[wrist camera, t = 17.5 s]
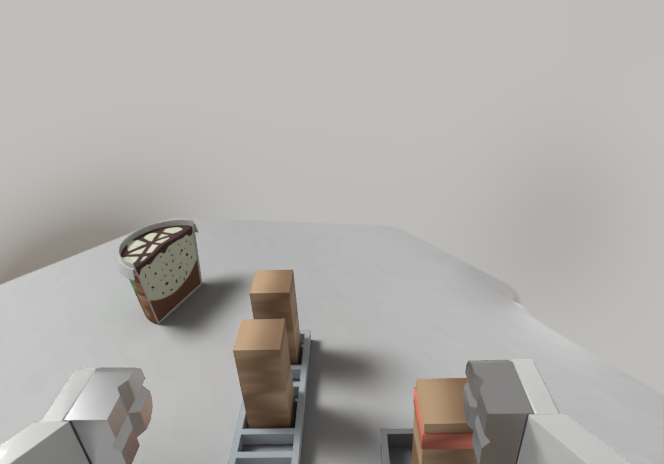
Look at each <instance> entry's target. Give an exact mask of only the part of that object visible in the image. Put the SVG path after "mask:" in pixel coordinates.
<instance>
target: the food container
mask: <svg viewBox="0 0 664 464" xmlns="http://www.w3.org/2000/svg"><path fill="white" fill-rule="evenodd" d="M195 232H198V230H197V227H196V225H195V224H194V223H193V220H169V221H163V222H159V223H155V224H151V225H148V226H146V227H143V228H141V229H139V230H137V231H135V232H133V233H132V234H130V235H129V236H128V237H126V238H125V239H124V240H123V241H122V243H121V244H120V246H119V249H118V254H117V261H118V269H119V271H120V273H121V274H122V275H123V276H124V277H126V278H128V279H129V280H130V282H131V285H132V287H133V289H134V291H135V294H136V296H137V298H138V300H139V302H140V305H141V307H142V309H143V311H144V314H145V316H146V317H147V319H148V320H150V321H151V322H153V323H155V324H160V323H161V322H162V321H163V320H164V319H165V318H166V317H167V316H168V315H169V314H170V313H171V312H173V311H174V310H175V309H176V308H177V307H178V306H179V305H180V304H181V303H182V302H183V301H184V300H186V299H187V298H188V297H189V296H190V295H191V294H192V293H193V292H194V291H195V290H196V289H197V288H199V287H200V286H201V285H202V279H201V272H200V265H199V258H198V250H197V243H196V236H195Z"/></svg>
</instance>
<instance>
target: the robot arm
mask: <svg viewBox="0 0 664 464" xmlns="http://www.w3.org/2000/svg"><path fill="white" fill-rule="evenodd" d="M465 373H466V376H467V380H468V382H467V383H466V384H465V385H464V388H463V408H464V413H465V418H466V422H467V425H468V426H469V427H470V428H471V429H472V430H473V436H472V444H473V448H474V451H475V455H476V458H477V462H478V464H632V463H631V462H630V461H628V460H627V459H626V458H624V457H623V456H622V455H620V454H619V453H618V452H616V451H615V450H614V449H612V448H611V447H610V446H608V445H607V444H606V443H604V442H603V441H602V440H600V439H599V438H598V437H596V436H595V435H594V434H592V433H591V432H590V431H588V430H587V429H586V428H584V427H583V426H582V425H580V424H579V423H578V422H576V421H575V420H574V419H572V418H571V417H570V416H568V415H567V414H560V413H559V411H558V409H557V407H556V405H555V403H554V401H553V399H552V397H551V395H550V393H549V391H548V389H547V387H546V385H545V383H544V381H543V379H542V377H541V375H540V373H539V371H538V369H537V367H536V365H535V363H534V361H532V360H531V359H516V360H482V361H468V363H467V365H466V372H465ZM144 380H145V377H144V374H143V372H142V369H140V368H79V369H78V370H76V371H75V372H74V373H73V374H72V376H71V377H70V379H69V380H68V382H67V383H66V385H65V386H64V388H63V389H62V391H61V392H60V394H59V395H58V397H57V398H56V400H55V401H54V403H53V404H52V406H51V407H50V409H49V410H48V412H47V413H46V415H45V416H44V418H43V419H42V420H41V422H34V423H32V424H31V425H29V426H28V427H26V428H25V429H23V430H22V431H21V432H19V433H18V434H16V435H15V436H13V437H12V438H10V439H9V440H7V441H6V442H4V443H3V444H1V445H0V464H132V462H133V460H134V457H135V455H136V453H137V450H138V448H139V446H140V445H139V442H138V439H137V437H138V436H139V435H140V434H142V433H143V432H144V431H145V430H146V429H147V427H148V424H149V422H150V419H151V414H152V407H153V406H152V397H151V394H150V391H149V390H148V389H146V388H145V387H144V386H142V384H143V382H144Z"/></svg>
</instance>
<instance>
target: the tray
mask: <svg viewBox="0 0 664 464" xmlns="http://www.w3.org/2000/svg"><path fill="white" fill-rule="evenodd" d="M412 445H413V429H381V455H382V464H411V462H412ZM477 464H478V462H477Z"/></svg>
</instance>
